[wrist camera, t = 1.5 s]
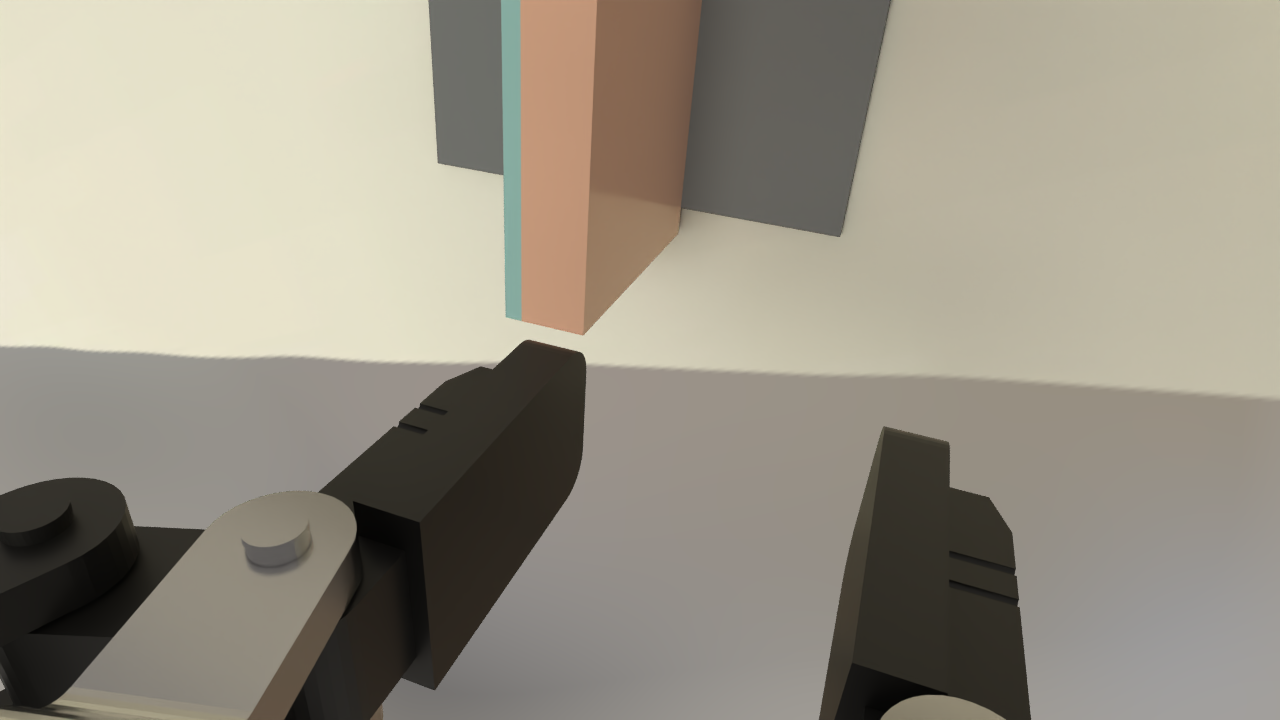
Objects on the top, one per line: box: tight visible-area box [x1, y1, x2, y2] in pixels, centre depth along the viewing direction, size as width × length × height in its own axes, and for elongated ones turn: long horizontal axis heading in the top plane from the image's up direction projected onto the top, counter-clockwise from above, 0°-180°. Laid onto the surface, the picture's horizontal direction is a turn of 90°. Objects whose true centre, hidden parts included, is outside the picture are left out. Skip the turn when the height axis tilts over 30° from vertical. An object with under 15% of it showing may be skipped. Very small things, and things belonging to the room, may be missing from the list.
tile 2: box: [501, 0, 702, 335], centre depth 23 cm, size 2×9×9 cm, turn 176°
